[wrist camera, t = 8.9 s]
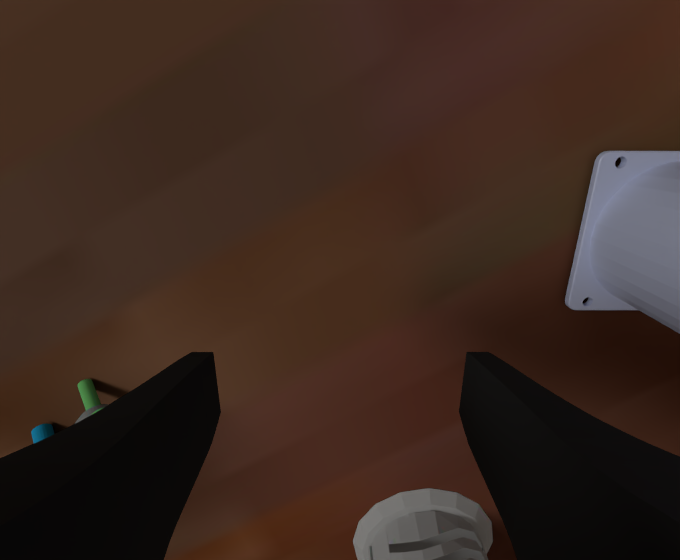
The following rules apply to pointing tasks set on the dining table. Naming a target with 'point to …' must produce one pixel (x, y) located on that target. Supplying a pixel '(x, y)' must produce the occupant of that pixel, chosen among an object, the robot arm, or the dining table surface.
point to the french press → (424, 528)
